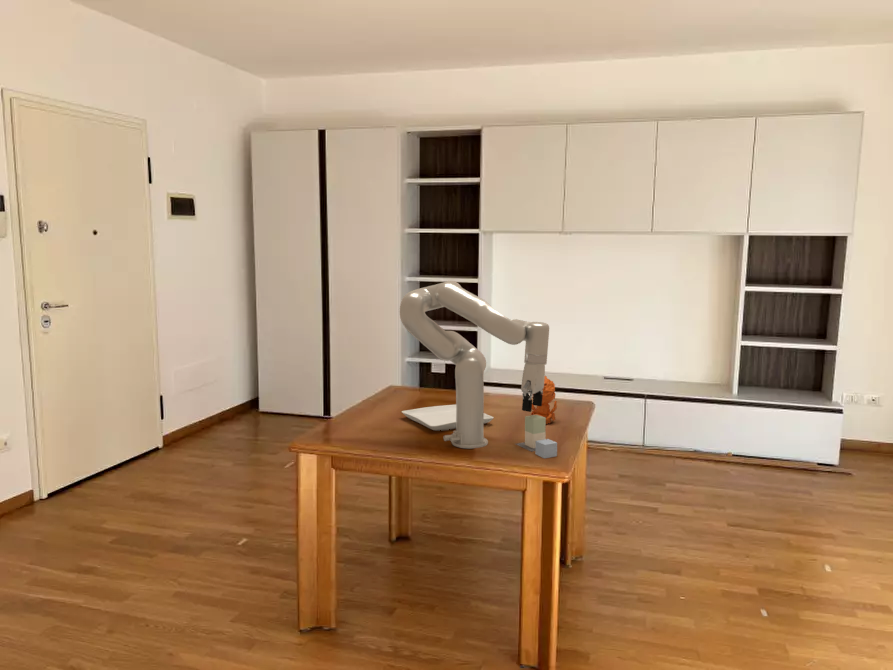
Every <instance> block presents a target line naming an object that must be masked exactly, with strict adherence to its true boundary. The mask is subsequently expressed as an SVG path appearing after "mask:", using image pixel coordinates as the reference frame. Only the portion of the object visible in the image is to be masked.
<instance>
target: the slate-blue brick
mask: <svg viewBox="0 0 893 670" xmlns="http://www.w3.org/2000/svg"><path fill="white" fill-rule="evenodd" d="M534 452H535V455H536V456H538V457H541V458H542V459H549V458H555V457H557V456H558V442H556V441H554V440H552V439H550V438H545V440H538V441H536V450H535V451H534Z"/></svg>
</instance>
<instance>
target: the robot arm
mask: <svg viewBox="0 0 893 670" xmlns="http://www.w3.org/2000/svg"><path fill="white" fill-rule="evenodd" d="M440 308H446V309H447V310H449V311H451V312H454V313H455V314H457V315H459V316H460V317H463V318H464V319H466V320H468V321H469V322H471V323H473V324H474V325H475V326H477V327H479V328H480V329H482V330H483V331H485V332H487V333H488V334H490V335H492V336H493V337H495V338H497V339H499V340H501V341H503V343H506V344H508V345H514V346H515V345H519V344H521V343H522V342H525V345H524V346H525V349H524V358H523V359H524V361H523V362H524V367H523V372H522V376H521V377H522V379H521V386H520V387H521V388H520V391H521V393H522V402H521V403H522V404H521V406H522V407H521V410H522V411H523V412H529V413H532V411H533V410H532V403H533V405H534V406H535V407H537V406H542V396H543V395H541V394H543V388H544V379H545V376H546V375H545V374H546V365H547V362H548V350H549V339H550V338H549V336H550V325H549V324H548V323H547V322H541V321H527V320H521V319H517V318H516V319H515V318H514V319H511V318H508V317H506V316H505V315H503V314H501V313H500V312H499V311H497V310H496V309H494V308H493V307H492V306H491V305H490V304H489V303H488V302H487V301H486V300H485V299H483V298H481V297H480V296H477V295H476V294H474V293H473V292H470V291H468V290H466V289H465V288H463V287H462V286H461V284H459V283H458V282H457V281H455V280H446V281H444V282H440V283H437V284H432V285H428V286H424V287H421V288H420V287H419V288H417V289H414V290H410V291H409V292H406V294H404V296H403V297H402V299H401V301H400V305H399V318H400V321H401V323H402V325H403V326H404V328H405V330H406V331H408V332H409V333H410V334H411V335H412V336H413V337H414V338H415V339H416V340H418V341H419V342H420V344H422V345H423V346H424V347H425V348H426V349H428V350H429V351H430V352H431V353H433V354H434V355H435V356H436V357H437V358H438V359H439V360H441V361H446V362H448V361H450V362H451V363H452V364H454V365H455V369H454V379H455V404H456V429H455V430H453V431H452V432H453V433H451V434H445V435H443V436H442V437H443V441H444V442H448V441H450V443H451V444H452V446H453V447H456V448H460V449H468V450H469V449H479V448H484V447H486V446H487V445H488V444H489V440H488V439H487V438H485V436H484V424H485V423H484V413H485V411H484V410H485V409H484V407H485V405H484V403H485V402H484V401H485V397H484V396H485V395H484V394H485V393H484V390H485V388H484V373H485V370H486V367H487V360H486V357H485V355H484V354H483V353H482V352H481V351H480V350H479V349H478V348H476V347H475V346H474V345H473V344H472V343H470V342H469V340H467V339H466V338H465V337H463V336H462V335H461V334H460V333H458V332H456V331H454V330H445V329H444V328H442V327H441V325H439V324H438V323H437V322H436V321H435V320H433V319H432V318H430V317H429V316H428V315H427V314H426V312H428V311H433V310H436V309H437V310H438V309H440ZM534 393H535V394H534ZM532 397H533V398H532ZM531 399H532V400H531Z"/></svg>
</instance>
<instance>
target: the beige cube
mask: <svg viewBox="0 0 893 670" xmlns="http://www.w3.org/2000/svg"><path fill="white" fill-rule="evenodd" d="M545 439H546V431H545V432H543V433H537V434H532V433H530V432H527V431H525V430H524V442H525V445H527V446H529V447H531V448H536V441H538V440H545Z"/></svg>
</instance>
